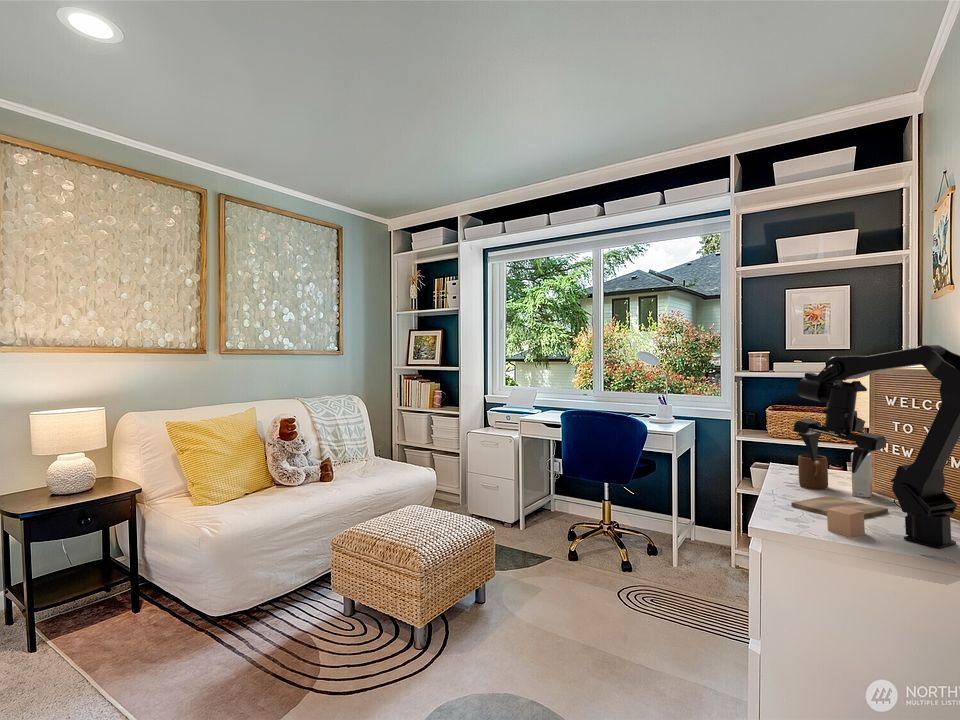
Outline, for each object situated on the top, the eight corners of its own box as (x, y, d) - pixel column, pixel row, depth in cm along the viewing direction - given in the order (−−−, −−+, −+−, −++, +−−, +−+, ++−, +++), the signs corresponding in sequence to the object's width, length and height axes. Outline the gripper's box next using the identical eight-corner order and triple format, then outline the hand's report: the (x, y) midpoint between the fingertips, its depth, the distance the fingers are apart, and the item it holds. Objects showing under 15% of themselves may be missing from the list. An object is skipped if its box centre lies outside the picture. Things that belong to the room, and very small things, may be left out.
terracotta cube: (864, 533, 115) (863, 511, 115) (850, 537, 113) (849, 514, 113) (841, 527, 120) (841, 506, 120) (827, 530, 118) (826, 509, 118)
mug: (836, 494, 148) (835, 461, 149) (806, 492, 151) (805, 461, 151) (824, 484, 160) (823, 454, 160) (796, 483, 162) (795, 454, 162)
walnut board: (888, 512, 129) (887, 508, 129) (849, 521, 124) (849, 516, 124) (828, 499, 143) (828, 495, 143) (791, 506, 138) (791, 502, 138)
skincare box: (870, 498, 143) (869, 455, 143) (852, 496, 146) (850, 454, 146) (873, 493, 147) (871, 452, 148) (855, 491, 150) (853, 451, 151)
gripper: (901, 411, 122) (892, 473, 124) (818, 396, 138) (812, 451, 140) (878, 416, 117) (870, 481, 119) (795, 399, 133) (788, 457, 135)
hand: (833, 466), depth 128 cm, fingers open, 9 cm apart
